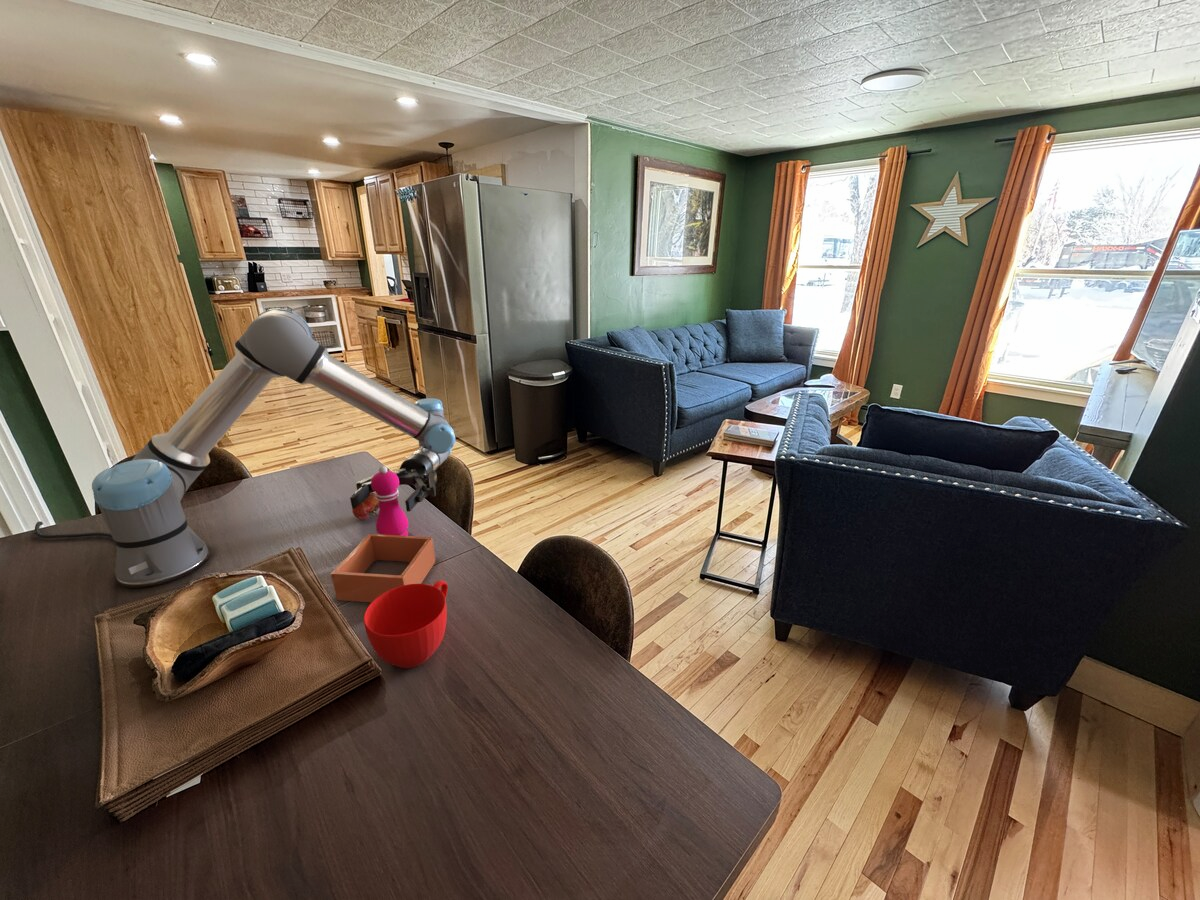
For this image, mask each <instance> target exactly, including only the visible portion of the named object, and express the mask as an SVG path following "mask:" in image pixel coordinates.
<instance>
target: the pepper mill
mask: <svg viewBox="0 0 1200 900" xmlns="http://www.w3.org/2000/svg"><path fill="white" fill-rule="evenodd" d="M387 469H388V467H387V466H385V465H382V466H380V467H379V468H378V472H376V473H375V474H373V475H374V476H373V475H372V476H373V478H372V480H371V487H372V489H373V490H374V491H375V495H376V499H377V500H378V501H379V508H378V516H377V518H376V522H375V529H376V532H377V534H383V535H400V536H409V532H408V531H409V530H407V529H408V528H409V526H410V525H409V523H410V522H409V519H408V516H407V515H406V513H405V512H404V510H403V509H402V508H401V506H400V504H399V499H398V497H399V496H400V493H399V486H400V485H399V478H398V476H397V475H396V474H395V473H394V472H395V471H390V470H389V471H387Z"/></svg>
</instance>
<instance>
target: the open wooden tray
mask: <svg viewBox="0 0 1200 900" xmlns="http://www.w3.org/2000/svg"><path fill="white" fill-rule="evenodd" d="M434 547H435V546H434V540H433V537H432V536H431V537H430V536H416V535H415V536H414V535H408V536H400V535H383V534H379V533H368V534H367V536H365V537H364V538H363V540H361V542H360V543H359V544H358V545H357V546H356V547H355V548H354V549H353V550H352V551H351V552H350V553H349V554H348V555H347V557H345V558H344V559H343V560H342V562H340V564H339V565H338V566H336V568H335V569H334V570H333V571H331V573H330V576H331V580H332V584H333V589H334V593H335V597H336V600H337V601H346V602H347V601H348V602H360V603H372V602H373V601H374V600H375V599H376V598H377V597H379V596H380V595H381V594H383V593H385V592H387V591H389V590H391V589H394V588H396V587H399V586H403V585H408V584H423V581H424V580H425V578H426V577H427V575H428V574H429V572H430V571H431V569H432V568H433V566H434V565H435V563H436V555H435V549H434ZM375 561H388V562H389V561H391V562H405V563H408V564H407V565H406V568H405V569H404V571H403V572H402V573H401V574H400V575H397V574H384V573H382V574H381V573H366V572H367V570H368V569H369V568H370V567H371V565H372V564H374V562H375Z"/></svg>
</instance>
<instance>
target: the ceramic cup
mask: <svg viewBox="0 0 1200 900" xmlns="http://www.w3.org/2000/svg"><path fill="white" fill-rule="evenodd" d="M448 589H449V585H448V583H447V582H446V581H445V580H438V581H436V582H435V583H434V584H433V585H431V584H427V583H421V584H408V585H403V586H399V587H396V588H394V589H391V590H389V591H387V592H385V593H383V594H381V595H380V596H379V597H377V598H376V599H375V600H374V601H373V602H370V603H369V605H368V607H367V608H366V610H365V611H364V615H363V625H364V630H365V632H366V636H367V639H368V641H369V643H370V646H371V647H372V649H373V651H374V652H375V654H376V655H377V656H378V657H379V658H380V659H382V660H383V661H384V662H385V663H387V664H390V665H392V666H395V667H399V668H403V669H411V668H415V667H417V666H421V665H422V664H424V663H425V662H427V661H428V660H429V659H430V658H431V656H433V654H434V653H435V652H436V651H437V650H438V648H439V646H440V645H441V643H442V641H443V639H444V636H445V632H446V627H447V617H448V615H447V609H448V608H447V597H448Z"/></svg>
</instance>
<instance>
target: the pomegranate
mask: <svg viewBox="0 0 1200 900" xmlns="http://www.w3.org/2000/svg"><path fill="white" fill-rule="evenodd" d="M375 493H376V492H375ZM375 493H374V492H372V493H370V496H369V497H368V498H366V499H365V500H364V501H363V502H362V503H361V504H360V505H359V506H358V507H356V508H352V507H351V511H352V514H353V516H354V517H355V518H357V519H358V520H362V521H367V519H369V517H370V516H373V515H375V516H377V517H378V515H379V513H377V512H378V511H379V509H380V508H379V501H378V500H377V499H376V495H375ZM354 494H355V493H353V494H352V495H351V497H352V496H353V495H354Z"/></svg>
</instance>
